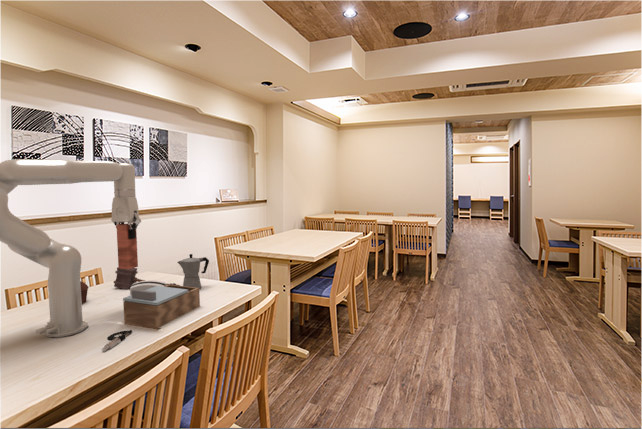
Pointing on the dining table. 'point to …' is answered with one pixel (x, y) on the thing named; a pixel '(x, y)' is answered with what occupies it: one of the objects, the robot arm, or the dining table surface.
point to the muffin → (83, 291)
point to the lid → (154, 295)
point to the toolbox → (161, 309)
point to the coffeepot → (192, 270)
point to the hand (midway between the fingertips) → (126, 237)
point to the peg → (126, 248)
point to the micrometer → (115, 339)
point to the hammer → (127, 278)
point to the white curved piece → (146, 285)
